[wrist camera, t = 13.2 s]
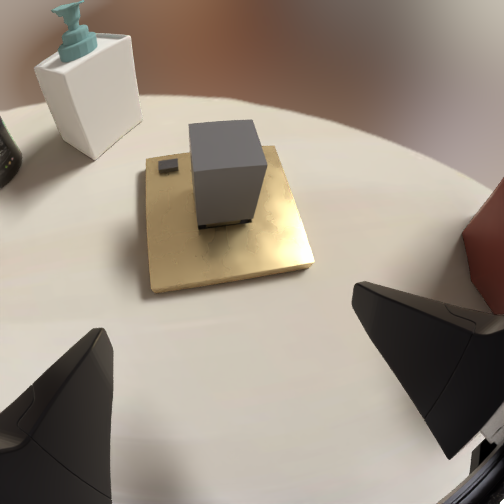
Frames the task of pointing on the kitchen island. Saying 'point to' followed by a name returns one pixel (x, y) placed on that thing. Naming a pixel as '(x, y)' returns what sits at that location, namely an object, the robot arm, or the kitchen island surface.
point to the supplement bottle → (8, 155)
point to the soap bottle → (90, 86)
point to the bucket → (488, 250)
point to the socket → (219, 230)
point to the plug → (226, 171)
